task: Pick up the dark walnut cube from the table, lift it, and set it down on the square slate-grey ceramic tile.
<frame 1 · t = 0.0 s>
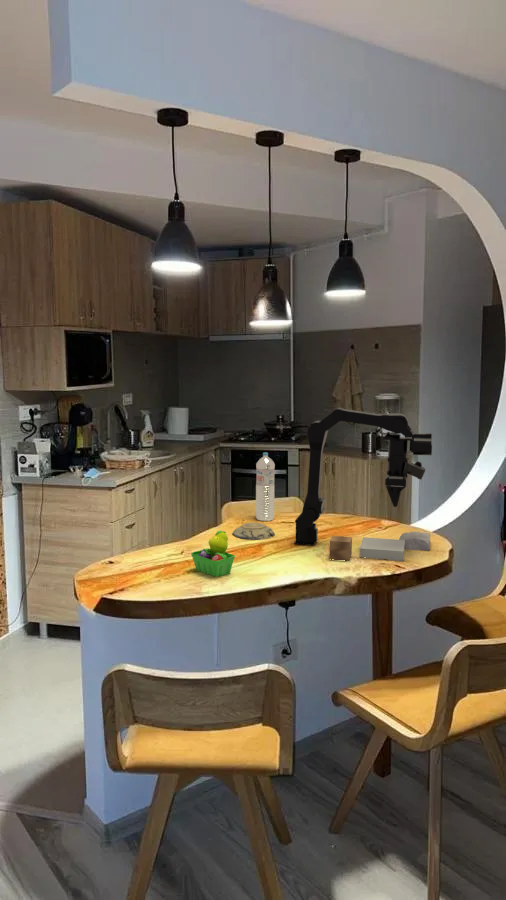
hand: (395, 503, 216), 15 cm above the table, tool pointing down, fingers open, 9 cm apart
water bottle: (265, 519, 256), on the table
stone block: (414, 546, 223), on the table
cube: (340, 558, 208), on the table
fruit basket: (214, 572, 195), on the table
tile: (382, 553, 213), on the table
decorative bowl: (253, 536, 235), on the table
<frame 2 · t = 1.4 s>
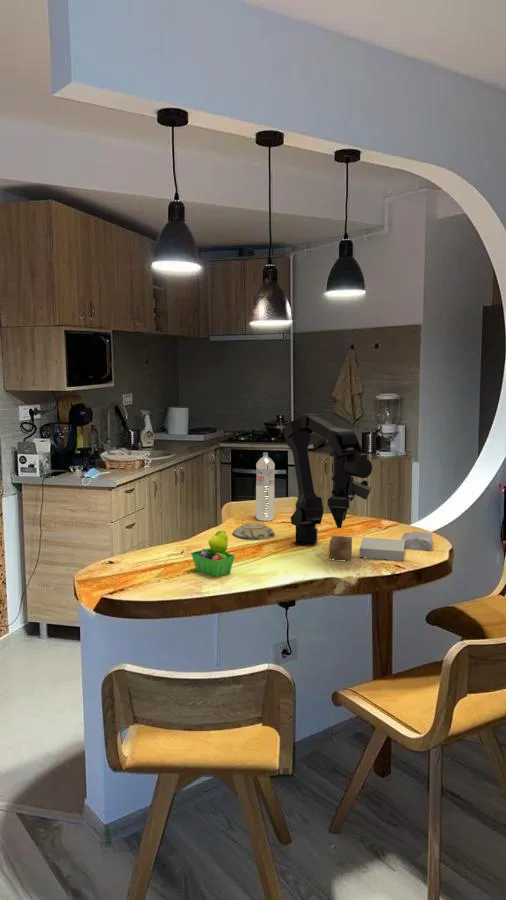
hand: (341, 524, 207), 10 cm above the table, tool pointing down, fingers open, 9 cm apart
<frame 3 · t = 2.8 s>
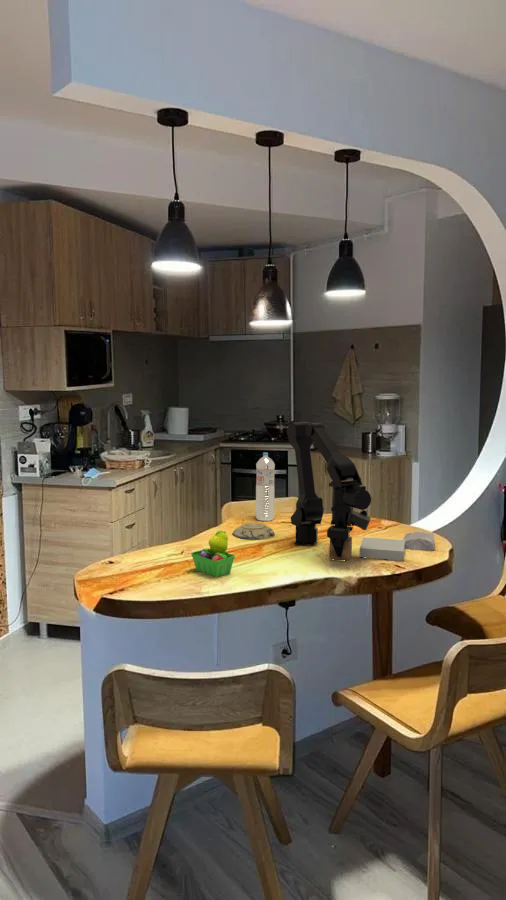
hand: (340, 553, 208), 1 cm above the table, tool pointing down, fingers closed on cube, 6 cm apart
cube: (340, 557, 208), on the table, touching gripper
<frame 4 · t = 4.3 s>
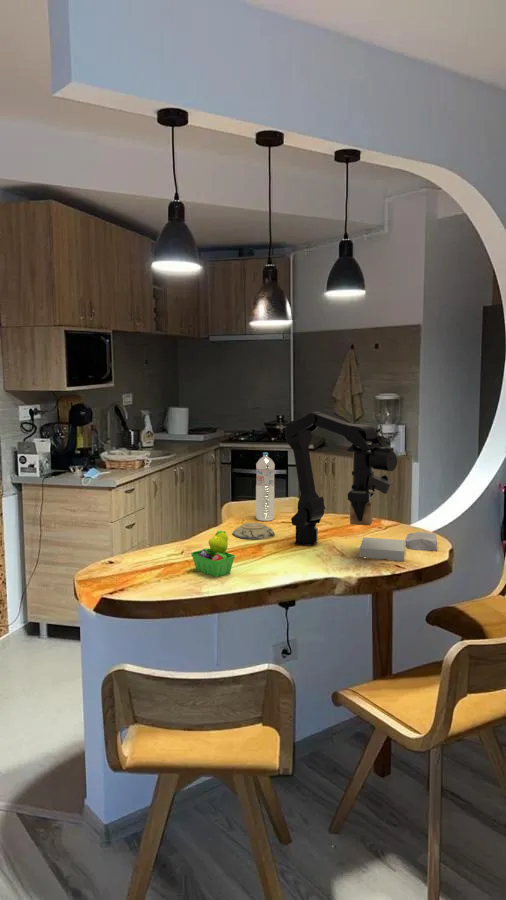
hand: (361, 518, 208), 12 cm above the table, tool pointing down, fingers closed on cube, 6 cm apart
cube: (361, 522, 208), point 10 cm above the table, touching gripper
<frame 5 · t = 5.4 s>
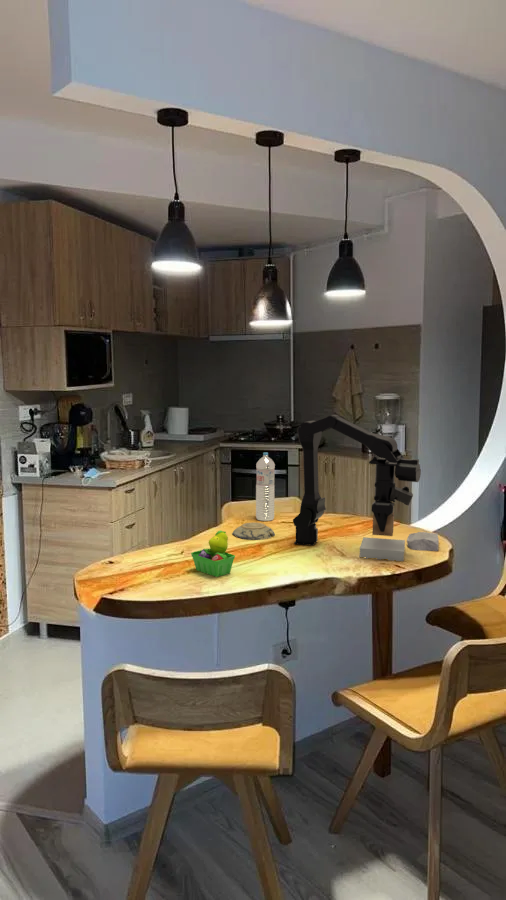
hand: (382, 529, 212), 8 cm above the table, tool pointing down, fingers closed on cube, 6 cm apart
cube: (382, 533, 212), point 6 cm above the table, touching gripper
when the fingers open (6 cm above the table, at t = 6.2 s): cube drops 1 cm, resting on tile.
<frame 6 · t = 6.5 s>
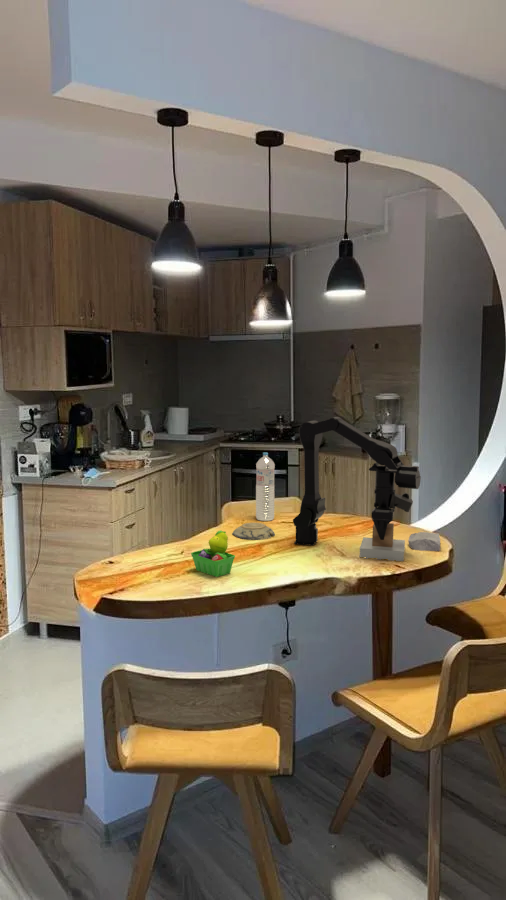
hand: (382, 535, 212), 6 cm above the table, tool pointing down, fingers open, 9 cm apart
cube: (382, 544, 213), point 3 cm above the table, touching tile
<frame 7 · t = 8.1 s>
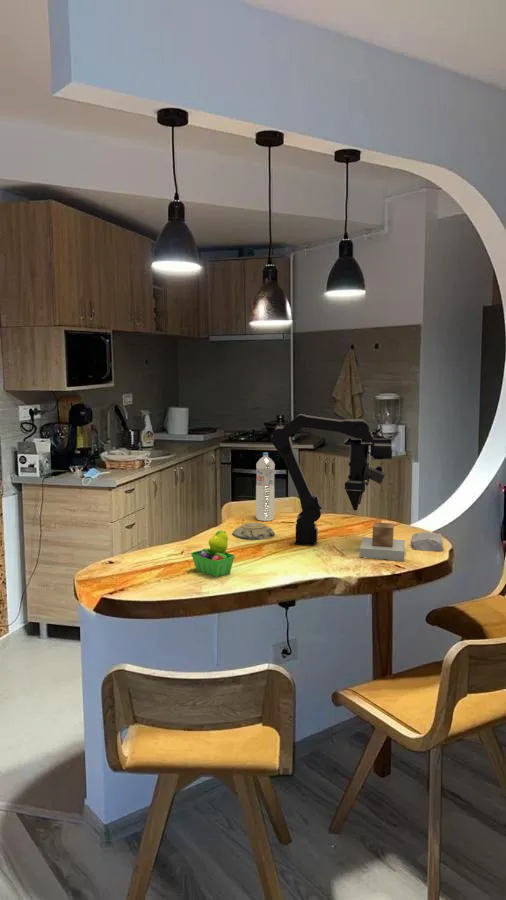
hand: (356, 507, 221), 12 cm above the table, tool pointing down, fingers open, 9 cm apart
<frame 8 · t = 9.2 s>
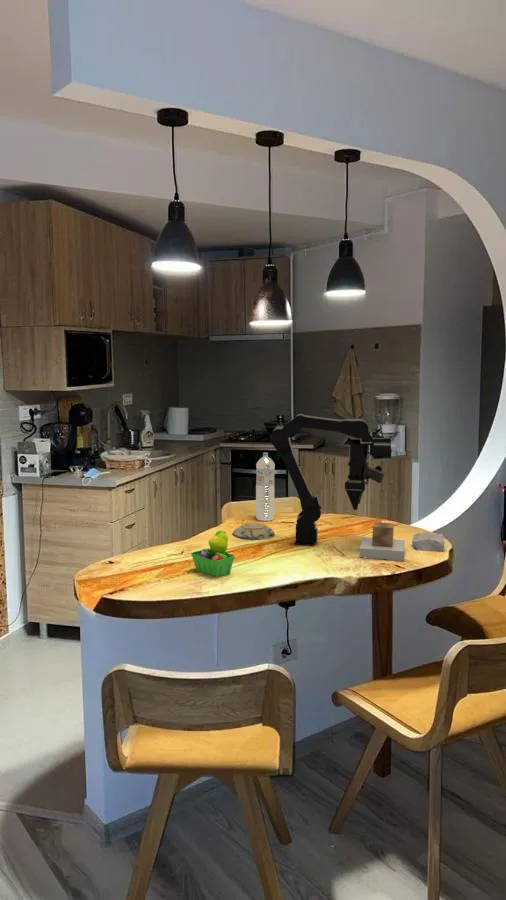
hand: (356, 506, 221), 13 cm above the table, tool pointing down, fingers open, 9 cm apart
at the end: cube inside the target area on the tile (0.0 cm from its centre), point 3.0 cm above the tile's base; cube tilted 0°; the gripper is holding nothing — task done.
